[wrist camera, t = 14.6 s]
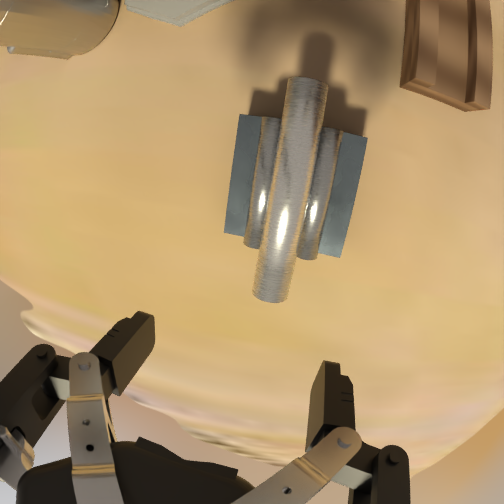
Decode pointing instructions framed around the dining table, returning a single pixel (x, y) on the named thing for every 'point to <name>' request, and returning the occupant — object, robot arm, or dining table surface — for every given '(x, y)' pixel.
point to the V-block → (321, 194)
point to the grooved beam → (449, 52)
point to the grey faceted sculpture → (174, 9)
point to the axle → (290, 187)
